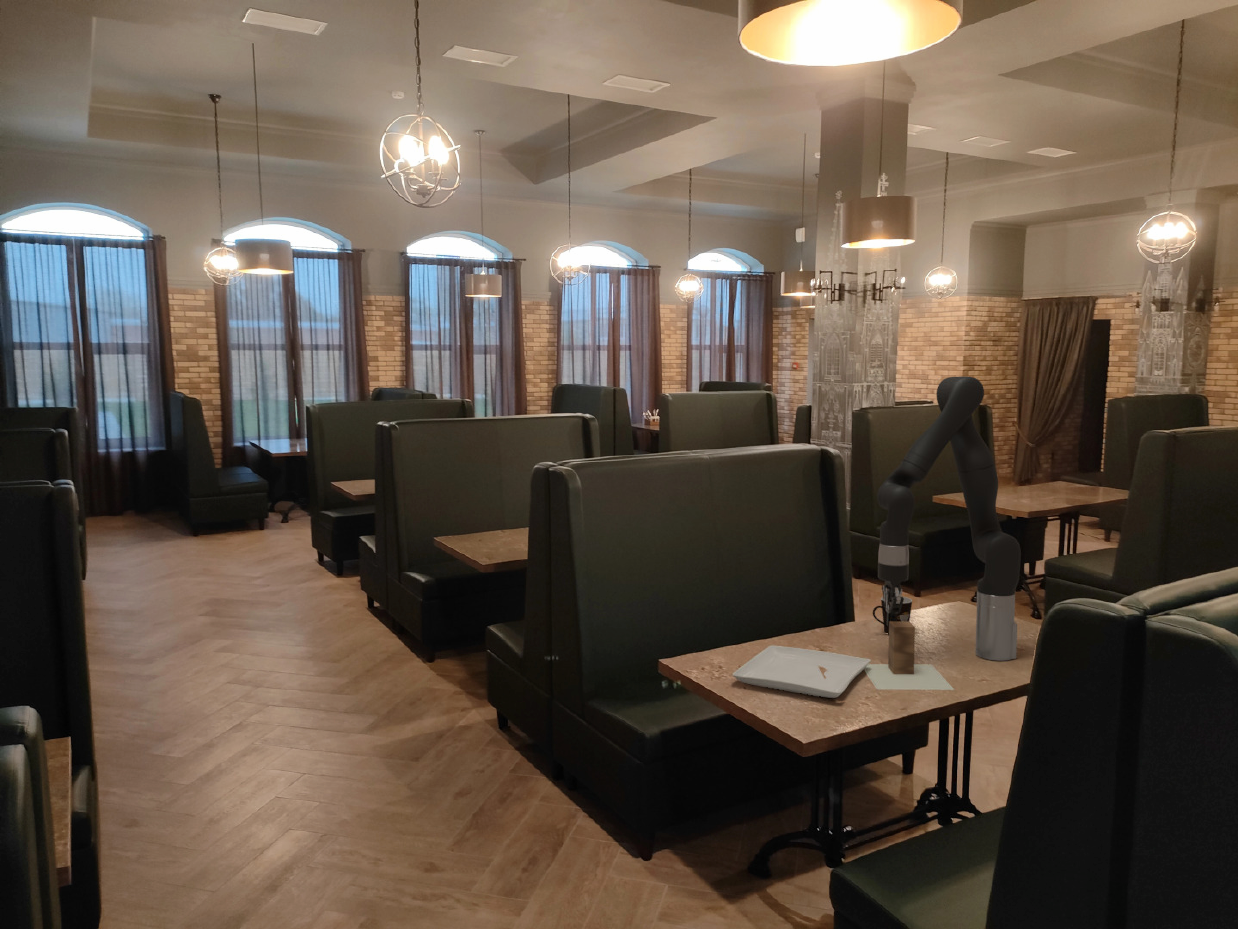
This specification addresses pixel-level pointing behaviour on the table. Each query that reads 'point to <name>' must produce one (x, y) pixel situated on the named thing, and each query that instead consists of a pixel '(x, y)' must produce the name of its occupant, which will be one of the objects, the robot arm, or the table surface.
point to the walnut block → (901, 647)
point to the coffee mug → (901, 616)
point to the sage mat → (907, 678)
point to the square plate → (801, 670)
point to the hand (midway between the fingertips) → (891, 626)
